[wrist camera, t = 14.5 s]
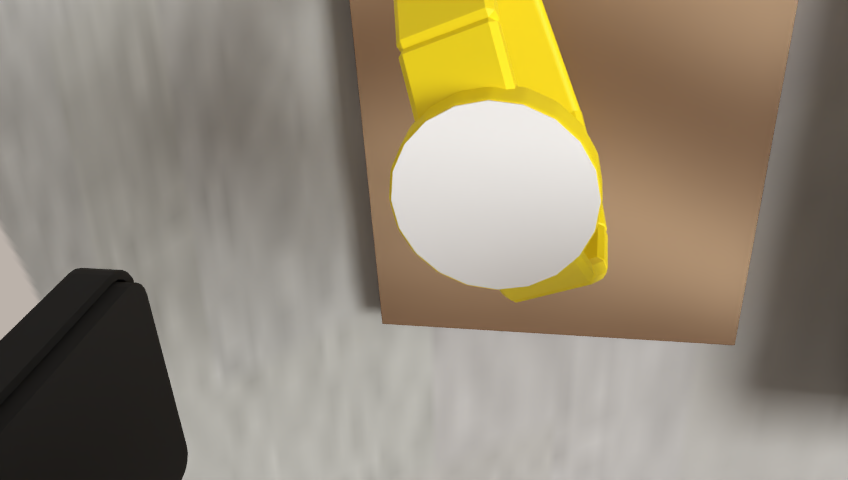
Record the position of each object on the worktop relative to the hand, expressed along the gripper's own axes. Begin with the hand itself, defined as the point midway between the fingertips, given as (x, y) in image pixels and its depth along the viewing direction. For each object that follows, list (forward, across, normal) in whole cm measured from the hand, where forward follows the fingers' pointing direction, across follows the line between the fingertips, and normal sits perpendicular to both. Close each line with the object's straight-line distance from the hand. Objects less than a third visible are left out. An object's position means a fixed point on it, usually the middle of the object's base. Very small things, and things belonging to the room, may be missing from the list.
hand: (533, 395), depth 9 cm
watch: (+8, +1, -2) cm, 8 cm away
